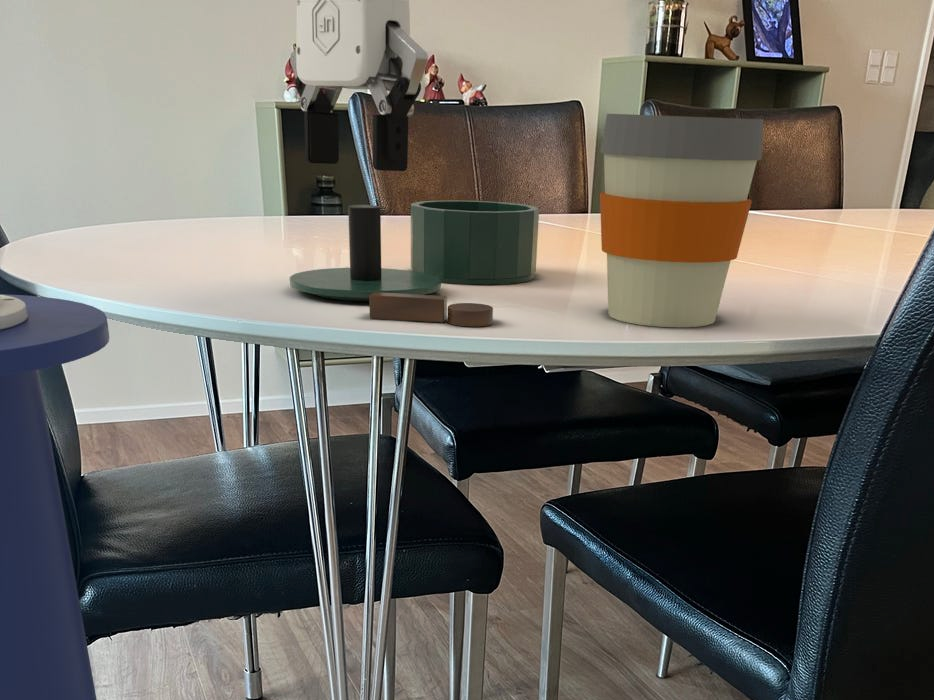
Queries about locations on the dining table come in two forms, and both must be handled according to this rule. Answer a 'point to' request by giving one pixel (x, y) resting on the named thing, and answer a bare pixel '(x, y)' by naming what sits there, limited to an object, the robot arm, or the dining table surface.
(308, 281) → the lid
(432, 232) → the tin
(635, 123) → the reusable coffee cup
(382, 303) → the wooden bar and disc
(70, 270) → the dining table surface
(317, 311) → the dining table surface
